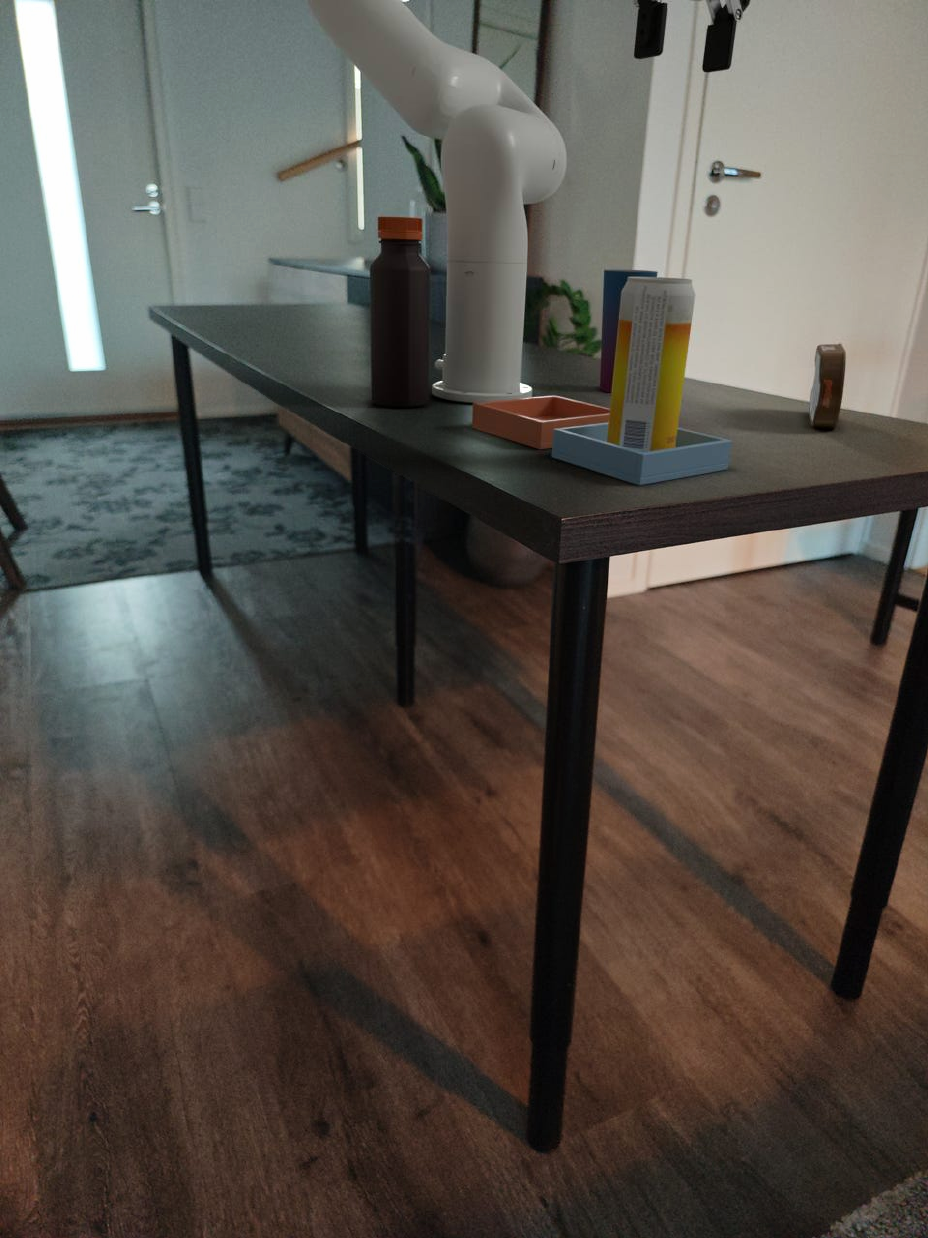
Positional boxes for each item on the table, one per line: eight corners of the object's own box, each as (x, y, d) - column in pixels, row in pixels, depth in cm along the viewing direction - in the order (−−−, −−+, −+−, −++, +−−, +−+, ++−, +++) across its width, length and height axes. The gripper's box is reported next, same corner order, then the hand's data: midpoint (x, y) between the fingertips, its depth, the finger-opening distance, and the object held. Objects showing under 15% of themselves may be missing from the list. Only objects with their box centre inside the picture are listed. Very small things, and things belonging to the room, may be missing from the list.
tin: (837, 435, 92) (854, 354, 88) (806, 432, 93) (821, 351, 89) (830, 412, 105) (844, 340, 101) (803, 409, 106) (816, 338, 102)
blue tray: (551, 457, 79) (553, 428, 77) (637, 444, 85) (640, 418, 83) (639, 485, 70) (643, 454, 69) (727, 469, 76) (732, 440, 75)
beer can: (674, 452, 79) (698, 278, 73) (671, 467, 74) (696, 281, 68) (609, 446, 81) (626, 275, 74) (601, 460, 75) (619, 277, 69)
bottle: (373, 397, 104) (370, 216, 96) (428, 399, 104) (431, 218, 96) (369, 408, 98) (366, 215, 90) (429, 409, 98) (431, 217, 90)
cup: (641, 387, 118) (654, 270, 112) (646, 395, 112) (660, 272, 106) (592, 384, 119) (602, 268, 112) (594, 392, 112) (605, 270, 106)
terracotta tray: (471, 427, 89) (472, 402, 88) (552, 418, 95) (554, 395, 94) (539, 449, 81) (541, 422, 80) (624, 438, 87) (627, 412, 86)
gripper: (737, -126, 83) (711, 79, 90) (608, -176, 74) (591, 56, 81) (804, -150, 78) (770, 70, 85) (674, -208, 69) (648, 45, 76)
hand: (682, 63), depth 83 cm, fingers open, 9 cm apart
